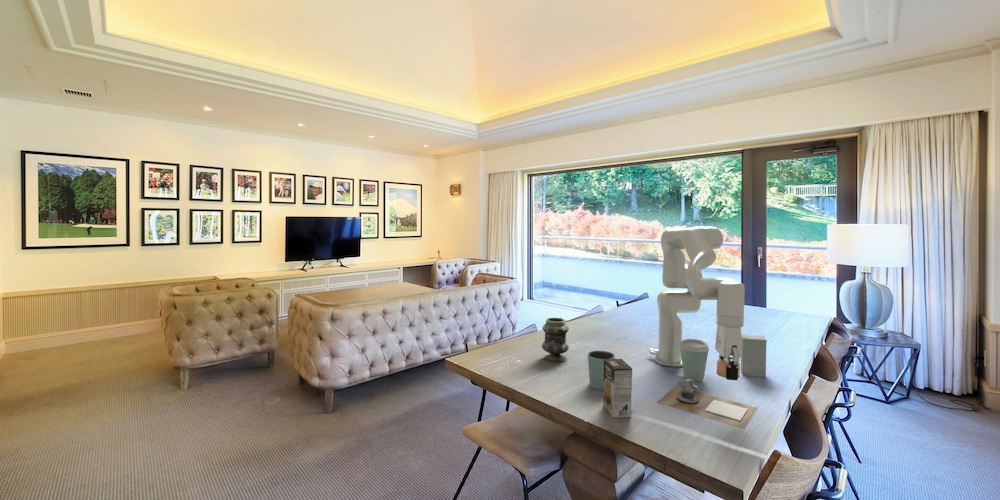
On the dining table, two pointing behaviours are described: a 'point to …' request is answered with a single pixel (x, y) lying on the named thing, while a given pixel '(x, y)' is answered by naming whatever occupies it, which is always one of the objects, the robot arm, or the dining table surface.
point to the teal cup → (597, 368)
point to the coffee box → (617, 387)
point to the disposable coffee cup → (694, 358)
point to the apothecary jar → (555, 339)
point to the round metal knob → (687, 391)
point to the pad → (726, 410)
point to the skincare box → (753, 355)
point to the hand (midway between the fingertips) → (727, 375)
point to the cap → (724, 367)
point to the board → (703, 404)
